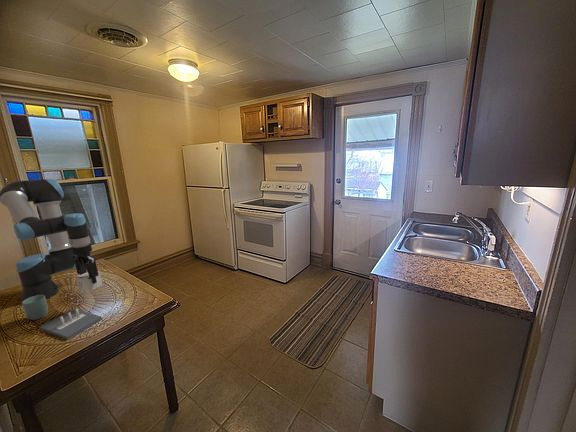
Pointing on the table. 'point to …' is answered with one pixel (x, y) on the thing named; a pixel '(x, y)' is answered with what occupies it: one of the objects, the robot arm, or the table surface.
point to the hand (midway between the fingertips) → (91, 287)
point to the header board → (70, 323)
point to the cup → (35, 307)
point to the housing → (87, 282)
